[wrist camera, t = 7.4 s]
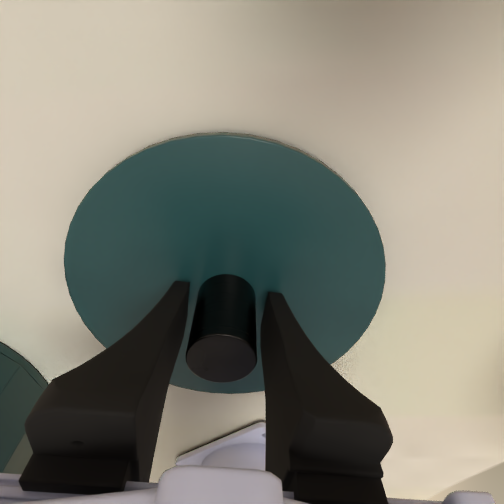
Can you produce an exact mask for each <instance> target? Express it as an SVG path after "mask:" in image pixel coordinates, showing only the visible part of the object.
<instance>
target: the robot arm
mask: <svg viewBox="0 0 504 504" xmlns="http://www.w3.org/2000/svg"><path fill="white" fill-rule="evenodd" d="M189 286H190V282H182V281H175V282H173V283H172V285H171V286H170V288H169V289H168V291H167V292H166V293H165V295H164V296H163V297H162V298H161V300H160V301H159V302H158V303H157V304H156V305H155V306H154V308H153V309H152V310H151V311H150V312H149V313H148V314H147V315H146V316H145V317H144V318H143V319H142V320H141V321H140V322H139V323H138V324H137V325H136V326H135V327H134V328H133V329H131V330H130V331H129V332H128V333H127V334H125V335H124V336H123V337H122V338H121V339H119V340H118V341H117V342H115V343H114V344H113V345H111V346H110V347H109V348H107V349H106V350H104V351H103V352H101V353H100V354H98V355H97V356H95V357H93V358H92V359H90V360H89V361H87V362H85V363H84V364H82V365H80V366H78V367H77V368H75V369H73V370H71V371H69V372H67V373H65V374H63V375H61V376H59V377H57V378H55V379H53V380H52V381H51V383H50V384H49V385H48V387H47V388H46V389H45V390H44V392H43V393H42V394H41V396H40V397H39V399H38V400H37V402H36V404H35V405H34V407H33V409H32V410H31V412H30V414H29V415H28V417H27V419H26V421H25V424H24V426H25V432H26V435H27V437H28V440H29V443H30V446H31V448H32V451H33V454H32V456H31V458H30V460H29V462H28V463H27V465H26V467H25V469H24V471H23V473H22V474H8V473H0V504H496V503H495V501H494V499H493V497H492V495H491V494H490V493H488V492H477V491H454V492H452V493H450V494H449V495H447V497H446V498H445V499H444V501H443V502H442V501H427V500H411V499H396V498H387V497H386V494H385V491H384V487H383V484H382V481H381V478H382V477H383V471H382V467H381V464H380V462H381V461H382V459H383V458H384V457H385V455H386V454H387V452H388V451H389V449H390V448H391V445H392V443H393V436H392V433H391V431H390V428H389V425H388V423H387V420H386V418H385V416H384V414H383V412H382V410H381V408H380V407H379V406H377V405H376V404H375V403H373V402H372V401H371V400H369V399H368V398H367V397H365V396H364V395H363V394H361V393H360V392H359V391H358V390H357V389H355V388H354V387H353V386H352V385H351V384H350V383H348V382H347V381H346V380H345V379H344V378H343V377H342V376H341V375H340V374H339V373H338V372H337V371H336V370H335V369H334V368H333V367H332V366H331V365H330V364H329V363H328V362H327V361H326V360H325V359H324V357H323V356H322V355H321V354H320V353H319V351H318V350H317V349H316V348H315V346H314V345H313V344H312V342H311V341H310V340H309V338H308V337H307V335H306V334H305V332H304V331H303V329H302V328H301V326H300V324H299V323H298V321H297V320H296V318H295V316H294V314H293V313H292V311H291V309H290V307H289V305H288V303H287V301H286V299H285V297H284V295H283V294H282V293H276V292H268V295H267V300H266V304H265V308H264V313H263V317H262V321H261V332H260V348H261V358H262V367H263V377H264V386H265V399H266V423H264V422H259V423H256V424H254V425H251V426H249V427H247V428H244V429H242V430H240V431H237V432H235V433H233V434H230V435H228V436H226V437H223V438H221V439H219V440H216V441H214V442H212V443H209V444H207V445H205V446H202V447H200V448H198V449H195V450H193V451H191V452H188V453H186V454H183V455H181V456H179V457H177V459H176V463H175V464H176V466H175V467H173V468H170V469H168V470H166V471H165V472H163V474H162V476H161V477H160V479H159V483H149V478H150V473H151V467H152V462H153V457H154V452H155V447H156V442H157V437H158V432H159V427H160V422H161V417H162V412H163V408H164V403H165V398H166V393H167V389H168V386H169V382H170V379H171V376H172V373H173V369H174V366H175V363H176V360H177V357H178V353H179V350H180V347H181V344H182V341H183V337H184V332H185V327H186V322H187V315H188V301H189Z"/></svg>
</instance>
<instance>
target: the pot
mask: <svg viewBox="0 0 504 504" xmlns="http://www.w3.org/2000/svg"><path fill="white" fill-rule="evenodd" d="M47 387H48V384H47V382H46V381H45V380H44V378H43V377H42V376H41V375H40V373H39V372H38V371H37V370H36V369H35V368H34V367H33V366H32V365H31V364H30V363H29V362H27V361H26V360H25V359H24V358H22V357H21V356H20V355H19V354H17V353H16V352H15V351H13V350H12V349H10V348H9V347H7V346H6V345H4V344H2V343H1V342H0V473H8V474H22V473H23V471H24V469H25V467H26V465H27V463H28V462H29V460H30V458H31V456H32V454H33V451H32V448H31V446H30V443H29V440H28V437H27V435H26V432H25V426H24V424H25V421H26V419H27V417H28V415H29V414H30V412H31V410H32V409H33V407H34V405H35V404H36V402H37V400H38V399H39V397H40V396H41V394H42V393H43V392H44V390H45V389H46V388H47Z"/></svg>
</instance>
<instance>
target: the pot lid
mask: <svg viewBox="0 0 504 504" xmlns="http://www.w3.org/2000/svg"><path fill="white" fill-rule="evenodd" d="M385 266H386V264H385V256H384V248H383V244H382V241H381V237H380V234H379V231H378V228H377V226H376V224H375V222H374V220H373V218H372V216H371V214H370V212H369V210H368V209H367V207H366V206H365V205H364V203H363V202H362V200H361V199H360V198H359V196H358V195H357V193H356V192H355V191H354V190H353V189H352V188H351V187H350V186H349V185H348V183H347V182H346V181H345V180H344V179H343V178H342V177H341V176H340V175H339V174H337V173H336V172H335V171H333V170H332V169H331V168H329V167H328V166H327V165H325V164H324V163H323V162H321V161H320V160H318V159H316V158H314V157H312V156H311V155H309V154H307V153H305V152H303V151H301V150H300V149H297V148H294V147H292V146H289V145H287V144H284V143H281V142H279V141H276V140H272V139H267V138H263V137H259V136H254V135H249V134H238V133H227V132H218V133H198V134H192V135H187V136H181V137H176V138H172V139H169V140H166V141H163V142H160V143H157V144H154V145H151V146H148V147H146V148H144V149H142V150H140V151H139V152H137V153H135V154H133V155H131V156H129V157H127V158H126V159H124V160H123V161H122V162H120V163H119V164H117V165H116V166H115V167H113V168H112V169H111V170H109V171H108V172H107V173H106V174H105V175H104V176H103V177H102V178H101V179H100V180H99V181H98V182H97V183H96V184H95V185H94V186H93V187H92V188H91V189H90V190H89V192H88V193H87V195H86V196H85V197H84V199H83V200H82V202H81V203H80V205H79V206H78V208H77V210H76V212H75V215H74V217H73V219H72V221H71V223H70V226H69V230H68V234H67V238H66V242H65V253H64V267H65V278H66V282H67V286H68V290H69V293H70V296H71V299H72V301H73V303H74V306H75V308H76V310H77V312H78V314H79V315H80V317H81V319H82V320H83V322H84V324H85V325H86V326H87V328H88V329H89V330H90V331H91V333H92V334H93V335H94V336H95V338H96V339H97V340H98V341H99V342H100V343H101V344H102V345H103V346H104V347H105V348H106V349H107V348H109V347H110V346H111V345H113V344H114V343H115V342H117V341H118V340H119V339H121V338H122V337H123V336H124V335H125V334H127V333H128V332H129V331H130V330H131V329H133V328H134V327H135V326H136V325H137V324H138V323H139V322H140V321H141V320H142V319H143V318H144V317H145V316H146V315H147V314H148V313H149V312H150V311H151V310H152V309H153V308H154V306H155V305H156V304H157V303H158V302H159V301H160V300H161V298H162V297H163V296H164V295H165V293H166V292H167V291H168V289H169V288H170V286H171V285H172V283H173V282H175V281H182V282H190V286H189V301H188V315H187V322H186V327H185V332H184V337H183V341H182V344H181V347H180V350H179V353H178V357H177V360H176V363H175V366H174V369H173V373H172V376H171V379H170V382H169V384H171V385H174V386H178V387H181V388H186V389H191V390H195V391H202V392H210V393H226V394H233V393H250V392H259V391H265V386H264V377H263V367H262V358H261V348H260V332H261V321H262V317H263V313H264V308H265V304H266V300H267V295H268V292H276V293H282V294H283V295H284V297H285V299H286V301H287V303H288V305H289V307H290V309H291V311H292V313H293V314H294V316H295V318H296V320H297V321H298V323H299V324H300V326H301V328H302V329H303V331H304V332H305V334H306V335H307V337H308V338H309V340H310V341H311V342H312V344H313V345H314V346H315V348H316V349H317V350H318V351H319V353H320V354H321V355H322V356H323V357H324V359H325V360H326V361H327V362H328V363H329V364H330V365H331V364H332V363H334V362H335V361H336V360H338V359H339V358H340V357H341V356H343V355H344V354H345V353H346V352H347V351H348V350H349V349H350V348H351V347H352V346H353V345H354V344H355V343H356V342H357V341H358V340H359V339H360V337H361V336H362V335H363V333H364V332H365V331H366V329H367V328H368V326H369V325H370V323H371V321H372V319H373V317H374V316H375V314H376V311H377V309H378V306H379V303H380V301H381V298H382V293H383V288H384V283H385Z"/></svg>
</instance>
